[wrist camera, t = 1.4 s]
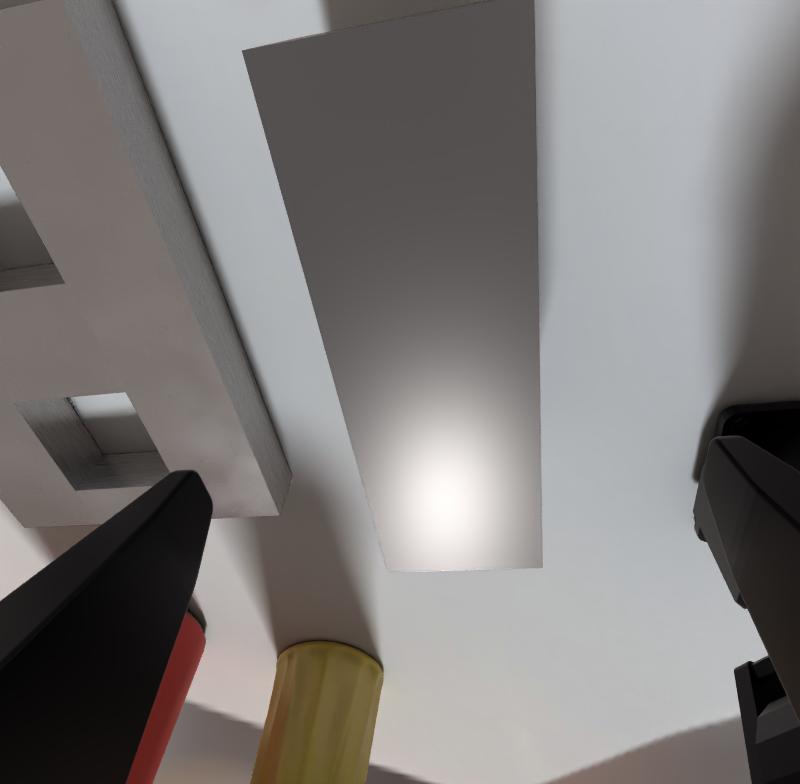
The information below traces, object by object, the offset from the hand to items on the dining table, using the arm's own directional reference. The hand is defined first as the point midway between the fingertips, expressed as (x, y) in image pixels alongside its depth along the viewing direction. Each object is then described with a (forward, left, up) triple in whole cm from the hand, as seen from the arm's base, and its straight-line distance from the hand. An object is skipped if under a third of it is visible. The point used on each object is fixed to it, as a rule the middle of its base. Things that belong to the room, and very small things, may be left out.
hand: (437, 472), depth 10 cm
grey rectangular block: (0, 0, -8) cm, 8 cm away
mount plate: (+13, 0, -8) cm, 15 cm away
